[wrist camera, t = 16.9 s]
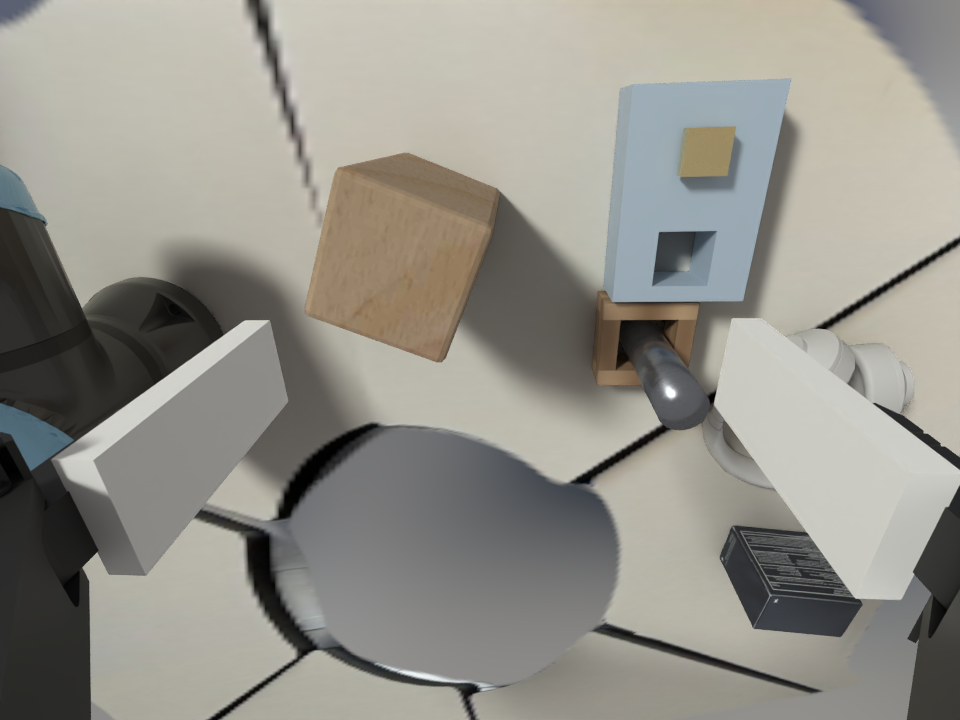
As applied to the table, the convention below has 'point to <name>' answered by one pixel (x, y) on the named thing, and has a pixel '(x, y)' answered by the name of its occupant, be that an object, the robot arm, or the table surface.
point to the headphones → (856, 365)
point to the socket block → (689, 188)
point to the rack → (609, 315)
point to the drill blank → (663, 375)
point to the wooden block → (401, 252)
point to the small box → (787, 582)
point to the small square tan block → (706, 151)
